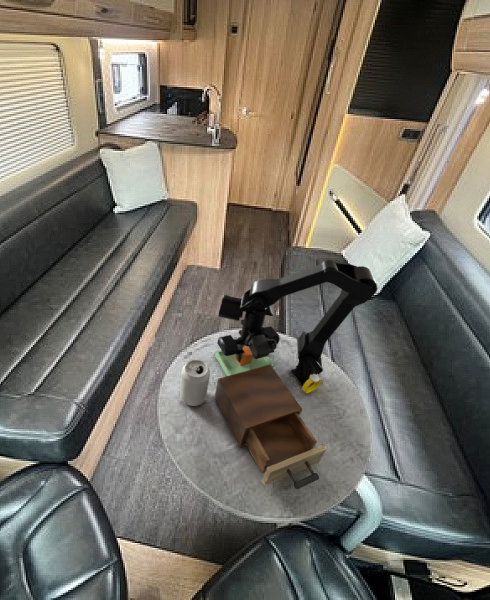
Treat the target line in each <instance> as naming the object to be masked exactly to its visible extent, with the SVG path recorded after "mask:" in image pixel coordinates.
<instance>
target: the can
mask: <svg viewBox="0 0 490 600" xmlns="http://www.w3.org/2000/svg"><path fill="white" fill-rule="evenodd" d="M210 377H211V370H210V367H209V366H208V364H207V363H206V362H205V361H203V360H201V359H196V358H195V359H190V360H188V361H187V362H186V363H185V364H184V365H183V366H182V368H181V376H180V387H179V397H180V400H181V401H182V402H183V403H184V404H185V405H188V406H191V407H197V406H200V405H202V404H203V403H204V402H205V401H206V399H207V395H208V390H209V382H210Z"/></svg>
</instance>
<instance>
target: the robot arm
mask: <svg viewBox="0 0 490 600" xmlns="http://www.w3.org/2000/svg"><path fill="white" fill-rule="evenodd" d="M326 283H329V284H332V285H334V286H336V287H337V288H339V289H340V292H339V293H340V294H339V295H338V297H337V298H336V299H335V301H334V302H333V303H332V305H331V306H330V307H329V308H328V310H327V311H326V312H325V314H323V316H322V317H321V319H320V320H319V322H318V323H317V324H316V326H315V327H314V328H313V329H312V330H311V331H309V332H307V331H305V330H303V331H302V333H301V335H300V336H299V337H297V338H296V342H297V343H296V346H297V347H296V348H297V349H296V350H297V360H298V363H297V365H296V367H295V368H292V369H291V370H290V372H291V374H292V375H293V377H294V378H295V379H296V381H298V383H299V384H300V385H301V386H302V387H303V385H304V384H305V382H306V381H307V380H308V379H309V377H310V375H313V374H316V375H320V374H321V373H323V371H324V366H323V358H322V355H323V351H324V348H325V344H326V343H327V342H328V340H329V339H330V338H331V337H332V335H334V333H335V332H336V331H337V329H338V328H339V327H340V326H341V325H342V323H343V322H344V321H345V319H346V318H347V317H348V316H349V315H350V314H351V312H352V311H353V310H354V309H355V308H356V307H358V306H361V305H363V304H365V303H367V302H368V301H369V300H370V299H371V298H372V297H373V296H375V294H376V293H377V291H378V284H377V282H376V279H375V276H374V274H373V272H372V271H371V269H370V268H369V267H367V266H363V265H362V266H357V265H354V264H351V263H348V262H337V261H334V260H331V259H327V260H324V261H322V263H319V264H316V265H314V266H311V267H308V268H305V269H302V270H300V271H297V272H294V273H291V274H289V275H286V276H283V277H280V278H264V279H259V280H256V281H254V282H253V283H252V284H251V286H250V288H248V289H247V290H246V291H244V292H243V293H242V296H241V298H240V297H234V296H230V295H229V294H228V295H227V294H223V295H222V298H221V303H220V306H219V310H218V316H217V317H218V318H221V319H227V320H232V321H238V322H239V321H240V324H241V325H242V327H241V329H239V330H238V335H239V336H238V337H237V338H235V339H234V338H233V336H232V334H228V335H224V336H219V337H218V339H217V343H216V344H217V346H218V347H219V349H220V350H222V352H223V353H224V355H225V356H230V355H234V354H236V358H237V360H238V362H240V360H241V357H242V353H245V352H244V350H243V347H244V346H246V347H247V346H249V348H250V350H251V352H252V355H253V357H254V358H255V359H259V358H263V357H269V356H270V354H274V353H275V350H276V348H277V345H278V344H279V343H280V340H281V336H280V335H279V333H278V332H277V331H276V330H275V328H274V327H273V326H272V325H269V326H264V324H265V321H266V320H265V319H266V316H269V317H274V311H275V307H274V306H273V305H275V304H277V302H278V301H280V300H281V299H282V298H284V297H287V296H289V295H292V294H295V293H298V292H301V291H304V290H308V289H310V288H314V287H316V286H320V285H322V284H326ZM244 312H245V313H244ZM243 315H244V317H243ZM312 384H314V382H313V383H312Z"/></svg>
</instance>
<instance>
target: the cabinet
mask: <svg viewBox="0 0 490 600" xmlns="http://www.w3.org/2000/svg"><path fill="white" fill-rule="evenodd" d="M214 399H215V401H216V403H217V405H218V406H219V409H220V411H221V413H222V415H223V417H224V419H225V421H226V423H227V425H228V427H229V429H230V431H231V433H232V434H233V436H234V438H235V440H236V443H237V444H238V446H239V448H241V447H244V446H247V445H246V443H245V441H244V440H245V437H246V433H247V430H248V429H251V428H254V427H256V426H259V425H262V424H265V423H268V422H271V421H274V420H277V419H279V418H282V417H285V416H288V415H291V414H294V413H298V415H299V416H300V417H301V414H302V411H303V407H302V406H301V404H300V403H299V401H298V400H297V399H296V397H295V396H294V395H293V393H292V392H291V390H290V389H289V388H288V387H287V386H286V384H285V382H283V380H282V378H281V377H280V376H279V374H278V373H277V372H276V370H275V369H274V368H272V366H271V365H267V366H263V367H259V368H256V369H252V370H248V371H244V372H241V373H237V374H233V375H230V376H227V375H226V376H222V377H218V378H217V384H216V387H215V393H214Z"/></svg>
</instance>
